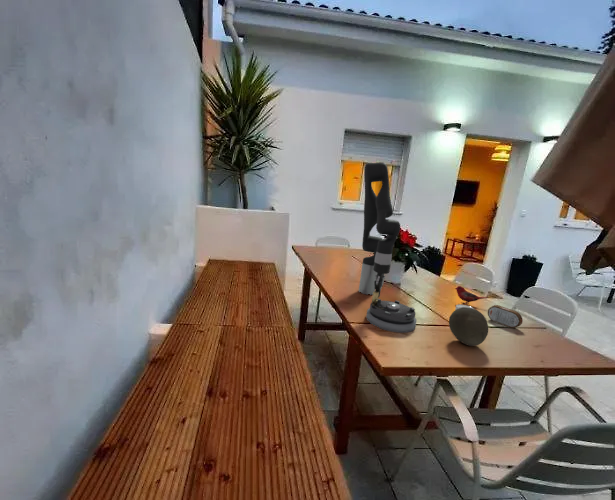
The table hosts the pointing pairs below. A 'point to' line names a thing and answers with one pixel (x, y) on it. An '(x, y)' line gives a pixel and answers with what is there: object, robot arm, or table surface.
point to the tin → (505, 316)
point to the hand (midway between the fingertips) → (377, 296)
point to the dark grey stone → (468, 326)
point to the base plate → (390, 324)
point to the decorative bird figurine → (467, 295)
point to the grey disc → (391, 311)
